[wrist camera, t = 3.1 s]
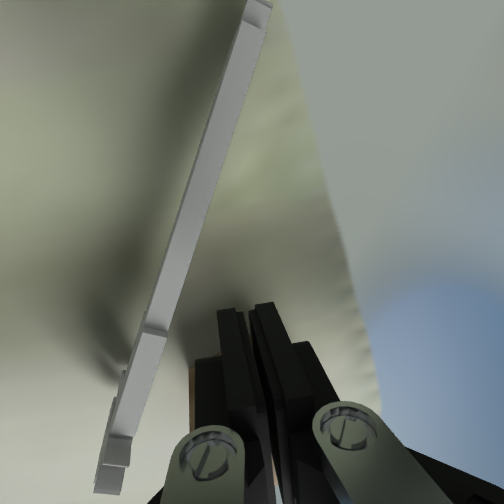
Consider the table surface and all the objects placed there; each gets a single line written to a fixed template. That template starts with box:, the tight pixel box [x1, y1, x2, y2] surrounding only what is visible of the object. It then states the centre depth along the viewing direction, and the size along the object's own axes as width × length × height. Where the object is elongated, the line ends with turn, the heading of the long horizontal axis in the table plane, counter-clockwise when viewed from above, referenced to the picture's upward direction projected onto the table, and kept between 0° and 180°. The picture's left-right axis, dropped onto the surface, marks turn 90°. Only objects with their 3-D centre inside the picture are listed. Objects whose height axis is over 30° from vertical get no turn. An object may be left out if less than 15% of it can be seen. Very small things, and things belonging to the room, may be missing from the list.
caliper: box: [93, 0, 273, 495], centre depth 14 cm, size 20×1×6 cm, turn 159°
